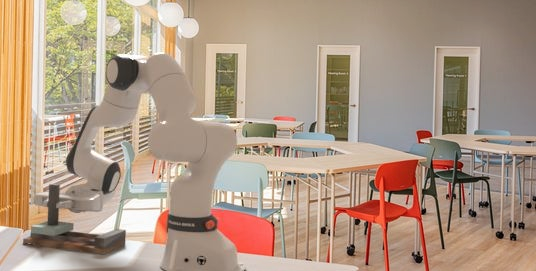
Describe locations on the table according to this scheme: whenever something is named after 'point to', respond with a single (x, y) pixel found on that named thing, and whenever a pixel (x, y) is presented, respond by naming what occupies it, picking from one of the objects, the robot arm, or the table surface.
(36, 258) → the table surface
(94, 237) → the rail board
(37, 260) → the table surface
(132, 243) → the table surface
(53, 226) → the carriage
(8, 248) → the table surface
